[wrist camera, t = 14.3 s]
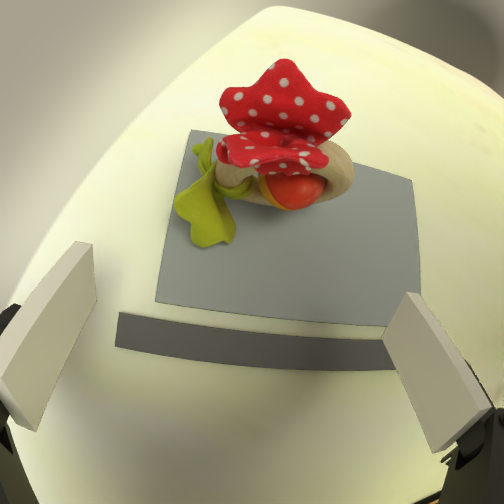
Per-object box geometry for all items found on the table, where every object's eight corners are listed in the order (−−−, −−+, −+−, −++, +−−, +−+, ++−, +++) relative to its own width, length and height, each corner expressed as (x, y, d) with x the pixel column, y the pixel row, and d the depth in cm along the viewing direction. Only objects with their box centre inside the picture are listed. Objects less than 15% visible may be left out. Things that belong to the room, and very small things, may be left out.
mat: (426, 188, 23) (429, 185, 23) (432, 366, 19) (437, 366, 19) (164, 129, 20) (164, 125, 20) (116, 346, 16) (114, 346, 16)
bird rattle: (271, 174, 23) (154, 150, 18) (391, 93, 14) (255, 9, 9) (282, 255, 21) (152, 247, 16) (429, 195, 12) (282, 128, 7)
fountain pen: (497, 458, 18) (506, 460, 17) (494, 467, 18) (504, 469, 16) (399, 505, 16) (409, 511, 14) (396, 515, 15) (406, 522, 14)
